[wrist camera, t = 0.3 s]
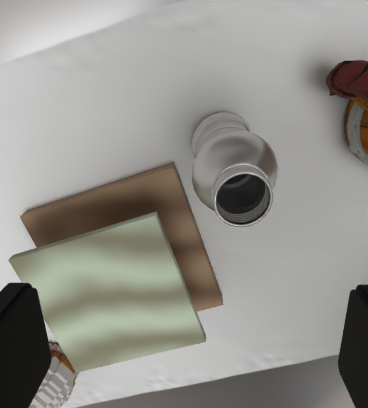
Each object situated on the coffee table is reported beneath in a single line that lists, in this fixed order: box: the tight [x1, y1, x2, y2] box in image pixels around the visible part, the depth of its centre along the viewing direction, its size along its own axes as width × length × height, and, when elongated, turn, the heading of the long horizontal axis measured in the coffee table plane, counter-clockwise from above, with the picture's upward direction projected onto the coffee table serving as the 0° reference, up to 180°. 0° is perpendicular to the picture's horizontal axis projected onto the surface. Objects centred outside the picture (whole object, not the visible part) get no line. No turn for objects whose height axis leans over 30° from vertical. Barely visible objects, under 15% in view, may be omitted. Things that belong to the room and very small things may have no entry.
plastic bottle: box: [192, 112, 278, 227], centre depth 30 cm, size 6×7×20 cm
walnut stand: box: [9, 163, 223, 373], centre depth 41 cm, size 20×20×10 cm
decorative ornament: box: [29, 343, 79, 408], centre depth 46 cm, size 8×8×15 cm
